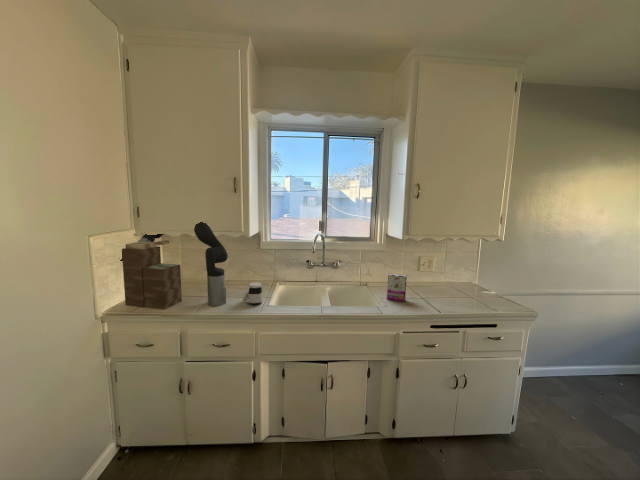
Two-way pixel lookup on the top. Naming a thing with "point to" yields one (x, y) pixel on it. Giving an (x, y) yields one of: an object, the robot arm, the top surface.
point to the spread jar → (254, 294)
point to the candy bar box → (396, 287)
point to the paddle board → (145, 244)
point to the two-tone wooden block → (150, 279)
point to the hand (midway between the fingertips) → (126, 264)
